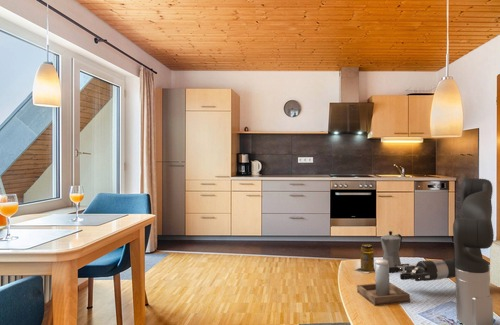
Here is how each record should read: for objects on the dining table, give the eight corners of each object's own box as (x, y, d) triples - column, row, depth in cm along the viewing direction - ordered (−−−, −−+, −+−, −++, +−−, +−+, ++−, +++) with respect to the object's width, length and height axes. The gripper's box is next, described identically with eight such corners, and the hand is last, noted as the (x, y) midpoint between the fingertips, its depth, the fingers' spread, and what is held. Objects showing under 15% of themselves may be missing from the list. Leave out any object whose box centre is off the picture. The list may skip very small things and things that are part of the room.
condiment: (378, 270, 173) (377, 245, 173) (366, 273, 168) (365, 248, 168) (365, 267, 179) (364, 242, 179) (354, 270, 174) (353, 245, 174)
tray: (410, 302, 133) (409, 294, 133) (374, 305, 131) (374, 297, 131) (389, 289, 147) (389, 282, 147) (357, 292, 145) (357, 285, 145)
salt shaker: (392, 296, 137) (391, 261, 137) (380, 297, 136) (379, 262, 136) (385, 291, 142) (384, 258, 142) (373, 293, 141) (372, 259, 141)
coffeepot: (392, 273, 167) (391, 234, 167) (374, 268, 175) (373, 231, 175) (411, 267, 176) (409, 230, 176) (393, 263, 184) (392, 227, 184)
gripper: (420, 256, 150) (384, 259, 147) (444, 265, 136) (405, 268, 133) (421, 274, 150) (384, 277, 147) (445, 285, 136) (405, 289, 133)
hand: (394, 273), depth 140 cm, fingers open, 8 cm apart
